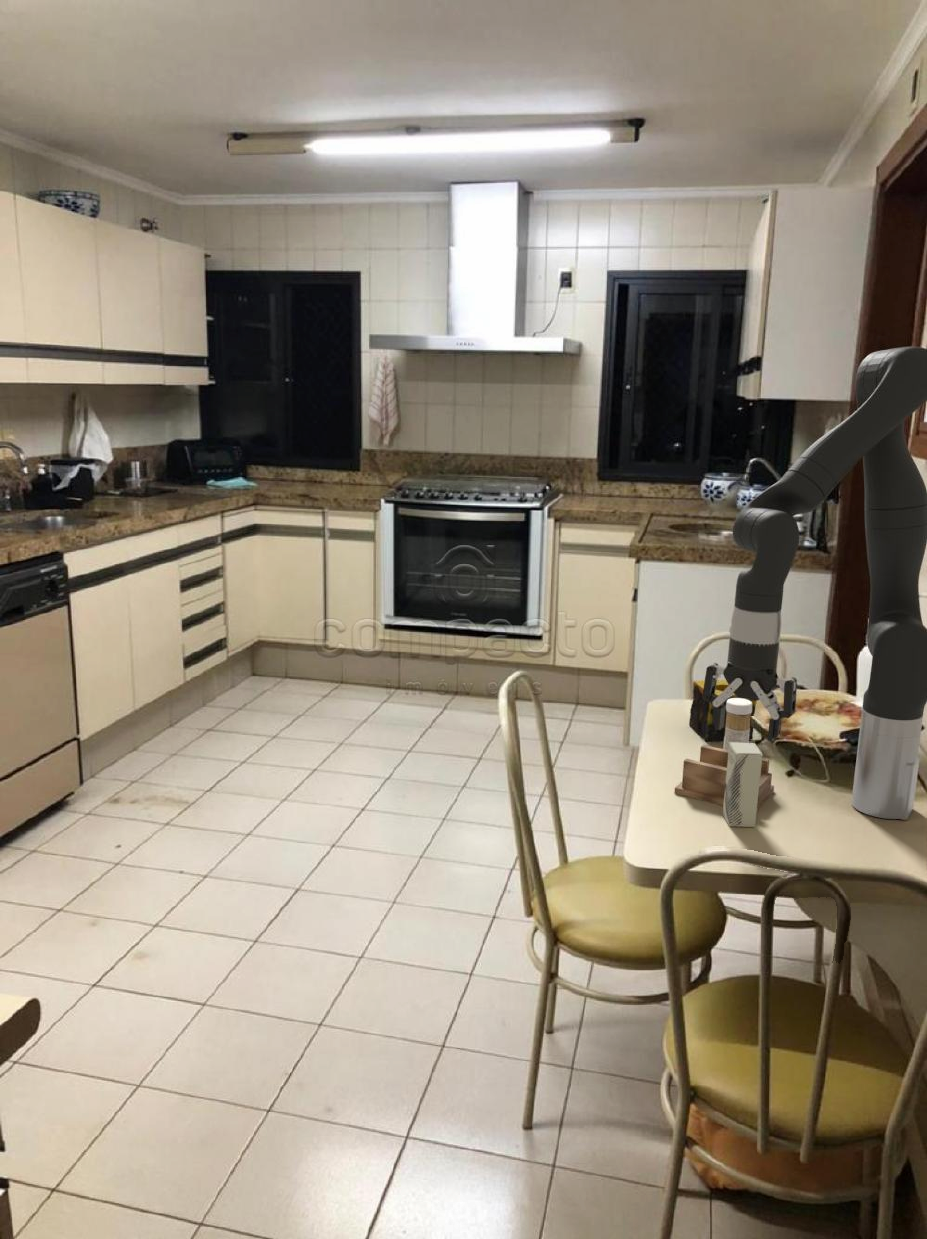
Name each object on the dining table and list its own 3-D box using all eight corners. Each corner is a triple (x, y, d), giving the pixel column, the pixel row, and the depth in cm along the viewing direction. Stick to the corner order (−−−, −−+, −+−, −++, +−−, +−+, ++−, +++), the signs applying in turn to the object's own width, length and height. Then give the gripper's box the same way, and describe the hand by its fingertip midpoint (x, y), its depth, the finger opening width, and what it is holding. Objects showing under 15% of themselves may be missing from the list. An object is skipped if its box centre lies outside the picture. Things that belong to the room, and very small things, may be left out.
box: (721, 814, 160) (727, 741, 157) (748, 814, 160) (754, 741, 157) (729, 828, 155) (735, 752, 152) (756, 828, 154) (763, 753, 151)
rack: (773, 791, 169) (776, 759, 168) (753, 813, 160) (756, 779, 159) (697, 773, 177) (699, 742, 175) (674, 793, 168) (676, 760, 166)
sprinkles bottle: (731, 763, 181) (736, 695, 178) (751, 770, 178) (757, 701, 175) (716, 769, 179) (721, 700, 175) (737, 776, 175) (742, 706, 172)
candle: (688, 725, 202) (691, 680, 200) (734, 724, 203) (738, 679, 201) (705, 742, 192) (708, 695, 190) (753, 741, 193) (757, 694, 191)
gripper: (808, 638, 149) (796, 737, 153) (719, 624, 157) (710, 718, 161) (793, 648, 143) (782, 751, 147) (702, 633, 151) (693, 730, 155)
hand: (744, 733), depth 154 cm, fingers open, 8 cm apart
